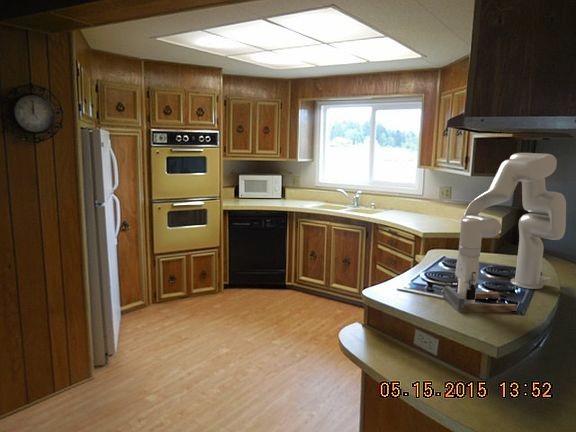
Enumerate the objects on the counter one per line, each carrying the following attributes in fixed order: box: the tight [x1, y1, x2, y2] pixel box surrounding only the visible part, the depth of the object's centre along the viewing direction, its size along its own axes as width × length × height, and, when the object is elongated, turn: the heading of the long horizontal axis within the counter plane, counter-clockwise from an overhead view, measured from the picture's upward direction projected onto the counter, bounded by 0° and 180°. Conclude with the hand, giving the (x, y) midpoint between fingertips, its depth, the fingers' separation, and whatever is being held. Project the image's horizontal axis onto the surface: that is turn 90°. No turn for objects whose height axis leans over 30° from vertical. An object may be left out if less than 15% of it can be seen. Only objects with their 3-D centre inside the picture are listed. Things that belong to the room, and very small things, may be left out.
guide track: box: [442, 285, 518, 313], centre depth 166 cm, size 22×14×5 cm, turn 92°
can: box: [456, 278, 476, 304], centre depth 165 cm, size 6×6×12 cm
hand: (465, 295), depth 165 cm, fingers open, 8 cm apart
